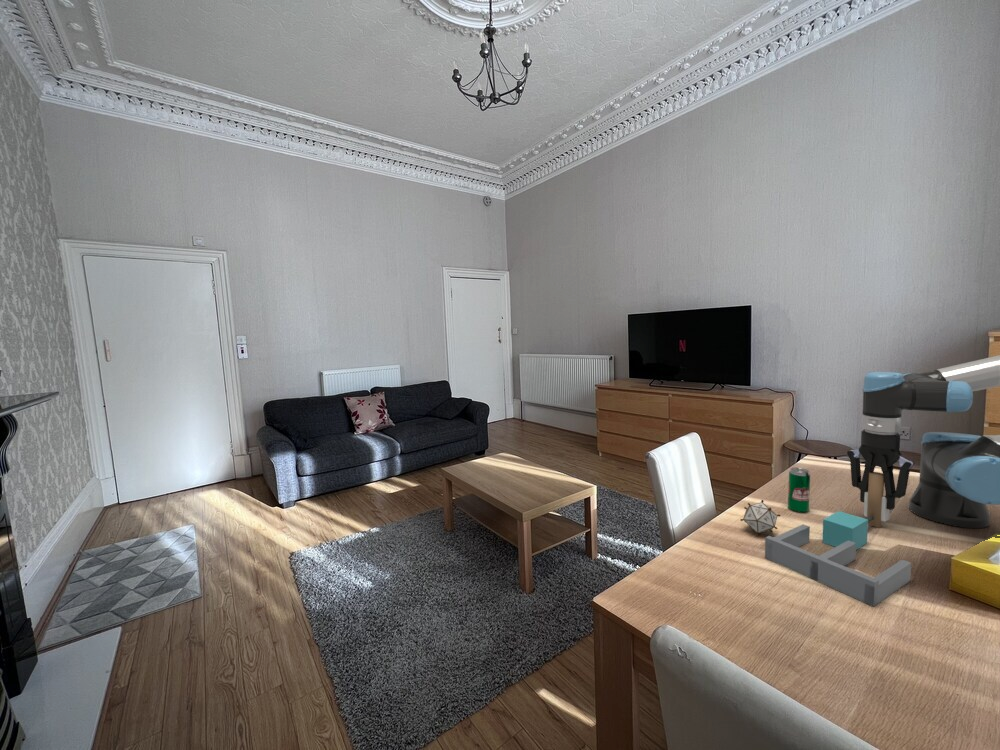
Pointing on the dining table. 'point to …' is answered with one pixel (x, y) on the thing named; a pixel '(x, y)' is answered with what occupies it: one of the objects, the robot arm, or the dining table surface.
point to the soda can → (799, 489)
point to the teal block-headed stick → (856, 518)
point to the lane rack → (835, 567)
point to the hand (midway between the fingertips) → (876, 517)
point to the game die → (760, 517)
